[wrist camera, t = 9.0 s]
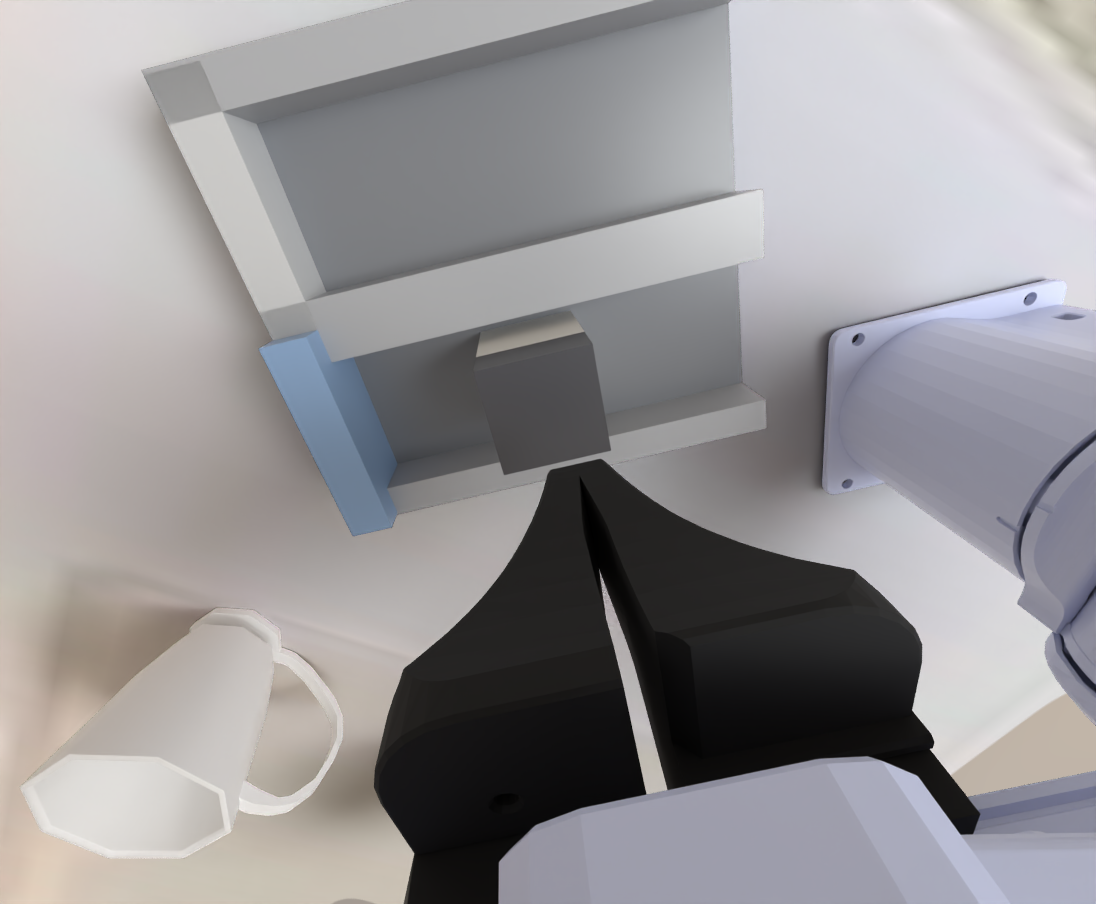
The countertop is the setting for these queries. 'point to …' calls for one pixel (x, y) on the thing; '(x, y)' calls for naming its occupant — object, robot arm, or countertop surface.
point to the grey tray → (478, 224)
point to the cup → (176, 747)
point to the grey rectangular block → (541, 392)
